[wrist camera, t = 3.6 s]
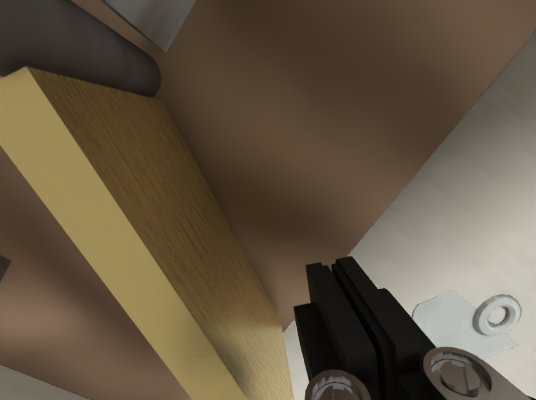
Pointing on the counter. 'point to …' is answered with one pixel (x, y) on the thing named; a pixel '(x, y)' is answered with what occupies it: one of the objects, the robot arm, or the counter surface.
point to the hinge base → (239, 145)
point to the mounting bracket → (468, 323)
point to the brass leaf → (148, 229)
